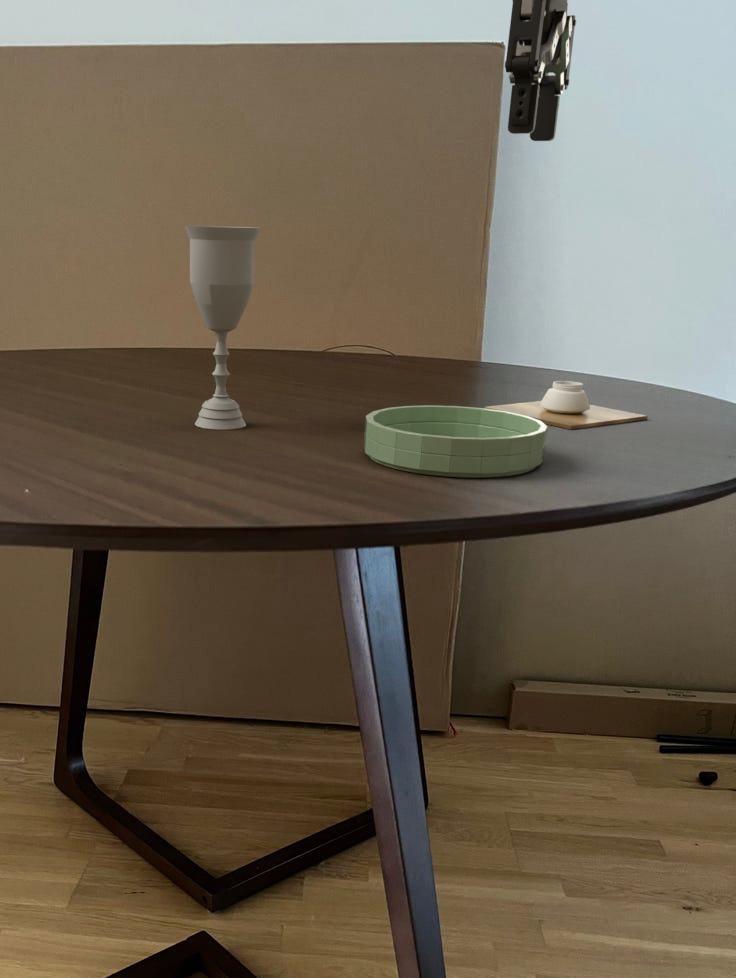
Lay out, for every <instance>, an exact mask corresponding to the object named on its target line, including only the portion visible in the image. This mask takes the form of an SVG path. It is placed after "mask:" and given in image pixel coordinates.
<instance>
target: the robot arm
mask: <svg viewBox="0 0 736 978" xmlns="http://www.w3.org/2000/svg"><path fill="white" fill-rule="evenodd" d="M511 5H512V6H511V15H510V24H509V30H508V31H509V33H508V40H507V47H506V48H507V49H506V58H505V62H504V68H505V72H506V73H509V75H508V79H509V84H510V85H511V91H510V92H511V93H510V104H509V111H508V112H509V113H508V121H507V122H508V123H507V131H508V132H509V133H510V134H513V135H529V138H530V140H531V141H534V142H551V141H553V140H555V138H556V131H557V125H558V124H557V122H558V114H559V107H560V98H561V96H562V95H563V94H564V91H566V90H568V87H569V85H570V72H571V65H572V64H571V63H572V54H573V46H574V36H575V27H576V25H577V19H576V15H575V14H573V15H568V8H569V7H568V6H569V3H568V0H512V4H511ZM549 73H550V74H551V73H552V74H553V75H549Z"/></svg>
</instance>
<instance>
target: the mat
mask: <svg viewBox="0 0 736 978" xmlns="http://www.w3.org/2000/svg"><path fill="white" fill-rule="evenodd" d="M541 401H542V400H536V401H526V402H518V403H507V404H498V405H490V406H489V405H488V406H484V409H491V410H499V411H506V412H511V413H516V414H520V415H525V416H529V417H531V418H534V419H537V420H540V421H542V422H543V423H544V424H545V425H549V426H552V427H553V426H554V427H558V428H562V429H567V430H578V429H584V428H585V429H586V428H594V427H603V426H608V425H615V424H625V423H633V422H640V421H646V420H648V419H649V418H648V417H649V416H648V415H645V414H640V413H635V412H630V411H624V410H619V409H615V408H610V407H604V406H599V405H594V404H589V405H590V409H589V410H587V411H584V412H582V413H577V414H562V413H555V412H551V411H548V410H545V409H544V408H542V407H541V405H540V404H541Z"/></svg>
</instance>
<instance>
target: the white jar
mask: <svg viewBox="0 0 736 978" xmlns="http://www.w3.org/2000/svg"><path fill="white" fill-rule="evenodd" d="M551 386H552V387H551V388H548V389H547V391H546V393H545V394H544V396H543V397H542V399H541V400H540V401H541V404H540V405H541V407H542V408H544V409H545V410H548V411H551V412H555V413H562V414H577V413H582V412H584V411H587V410H589V409H590V405H591V404H590V402H589V399H588V396H587V393H586V391H585V390H583V387H584V383H582V382H580V381H570V380H556V381H555V380H554V381H553V383H552V385H551Z"/></svg>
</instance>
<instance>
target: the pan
mask: <svg viewBox="0 0 736 978" xmlns="http://www.w3.org/2000/svg"><path fill="white" fill-rule="evenodd" d="M548 429H549V427H548V426H547V424H544V423H543V422H542V421H540V420H537V419H534V418H531V417H529V416H525V415H520V414H516V413H511V412H506V411H499V410H491V409H485V408H483V407H471V406H458V405H431V404H429V405H403V406H396V407H395V406H394V407H386V408H382V409H377V410H374V411H371V412H370V413H368V414H367V415H365V417H364V433H363V434H364V436H363V450H364V453H365V454H366V455H367V456H368V457H369V459H371V460H372V461H373V462H375V463H377V464H379V465H382V466H385V467H387V468H391V469H394V470H399V471H404V472H409V473H413V474H420V475H421V474H422V475H429V476H436V477H446V478H447V477H448V478H471V479H475V478H478V479H479V478H481V479H482V478H485V479H486V478H500V477H501V478H502V477H509V476H515V475H516V476H517V475H522V474H525V473H529V472H531V471H533V470H534V469H536V468H537V467H538V466H541V464H542V462H543V460H544V458H545V451H546V442H547V436H548Z"/></svg>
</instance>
